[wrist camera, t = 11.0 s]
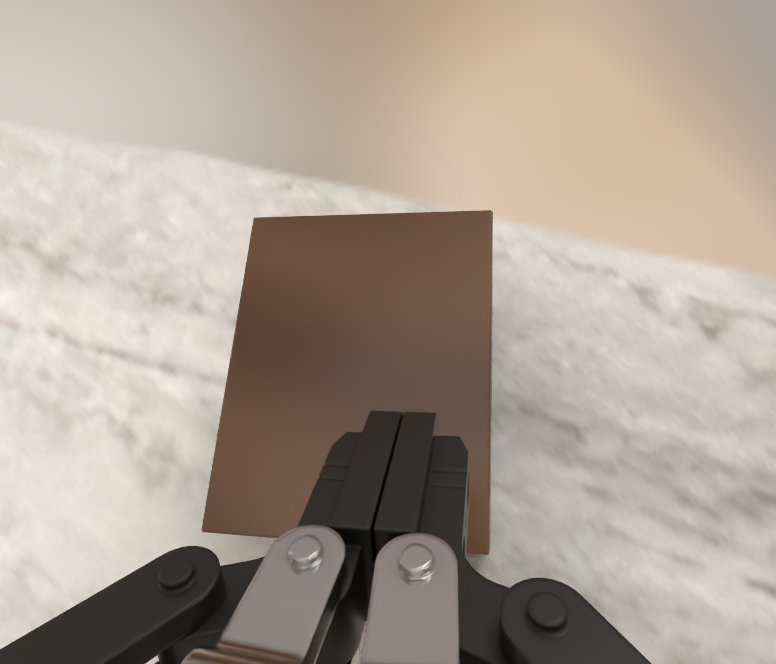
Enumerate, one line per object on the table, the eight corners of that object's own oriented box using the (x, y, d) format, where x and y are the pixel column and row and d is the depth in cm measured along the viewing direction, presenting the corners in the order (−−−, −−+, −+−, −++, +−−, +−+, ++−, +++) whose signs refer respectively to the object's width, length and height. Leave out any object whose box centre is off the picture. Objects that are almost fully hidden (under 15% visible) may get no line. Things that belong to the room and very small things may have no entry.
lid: (260, 226, 26) (253, 217, 25) (492, 219, 24) (492, 209, 23) (210, 532, 22) (200, 532, 21) (489, 554, 20) (489, 555, 19)
